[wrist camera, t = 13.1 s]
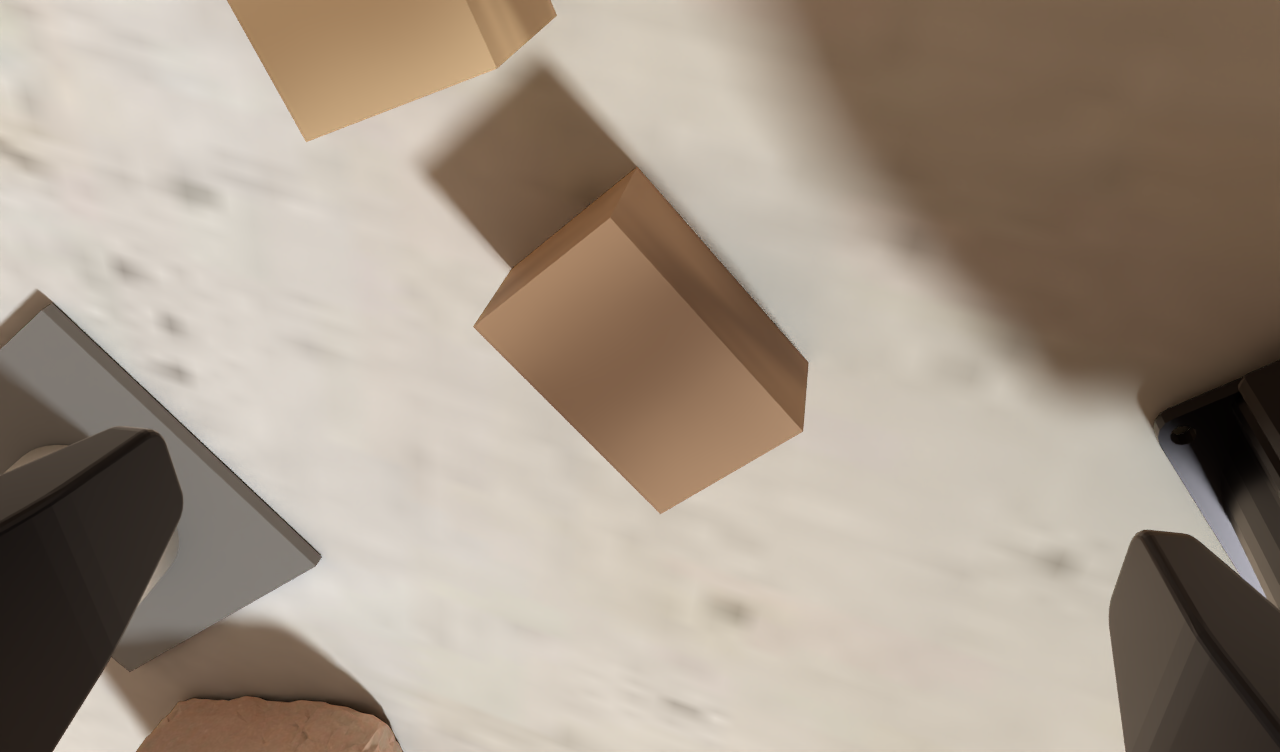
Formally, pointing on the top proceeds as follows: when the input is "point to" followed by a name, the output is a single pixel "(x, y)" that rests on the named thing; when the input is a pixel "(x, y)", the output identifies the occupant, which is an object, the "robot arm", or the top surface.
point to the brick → (268, 728)
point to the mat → (213, 496)
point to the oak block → (379, 50)
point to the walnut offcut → (648, 346)
